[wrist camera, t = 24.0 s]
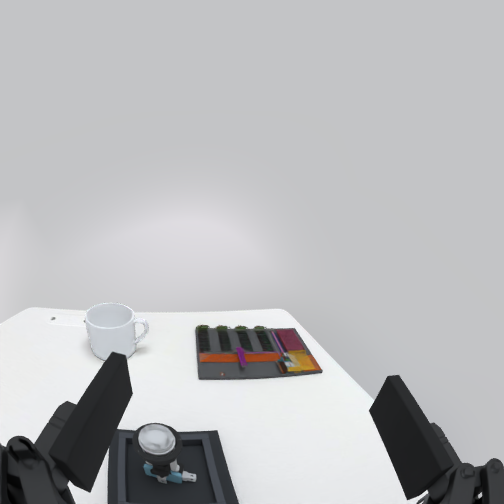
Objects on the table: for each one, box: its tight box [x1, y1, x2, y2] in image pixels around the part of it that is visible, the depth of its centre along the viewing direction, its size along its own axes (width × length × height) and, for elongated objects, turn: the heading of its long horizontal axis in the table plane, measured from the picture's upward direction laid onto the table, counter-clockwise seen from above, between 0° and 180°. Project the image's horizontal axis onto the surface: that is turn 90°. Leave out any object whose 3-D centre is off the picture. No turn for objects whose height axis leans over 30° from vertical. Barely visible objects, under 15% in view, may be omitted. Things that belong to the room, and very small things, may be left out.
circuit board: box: [196, 324, 322, 380], centre depth 56 cm, size 25×18×3 cm
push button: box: [132, 423, 196, 484], centre depth 22 cm, size 7×5×10 cm
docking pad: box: [108, 429, 239, 504], centre depth 23 cm, size 16×16×3 cm
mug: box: [85, 303, 149, 360], centre depth 48 cm, size 13×10×8 cm
